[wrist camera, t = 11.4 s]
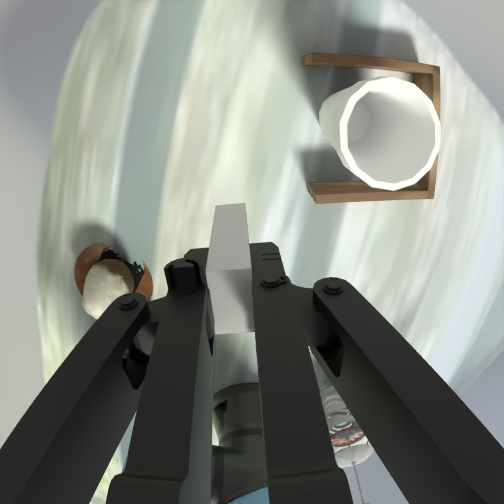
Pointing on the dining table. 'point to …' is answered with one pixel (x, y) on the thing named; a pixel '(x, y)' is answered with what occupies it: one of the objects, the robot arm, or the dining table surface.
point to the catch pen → (360, 190)
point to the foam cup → (383, 131)
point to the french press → (344, 431)
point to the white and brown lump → (108, 278)
